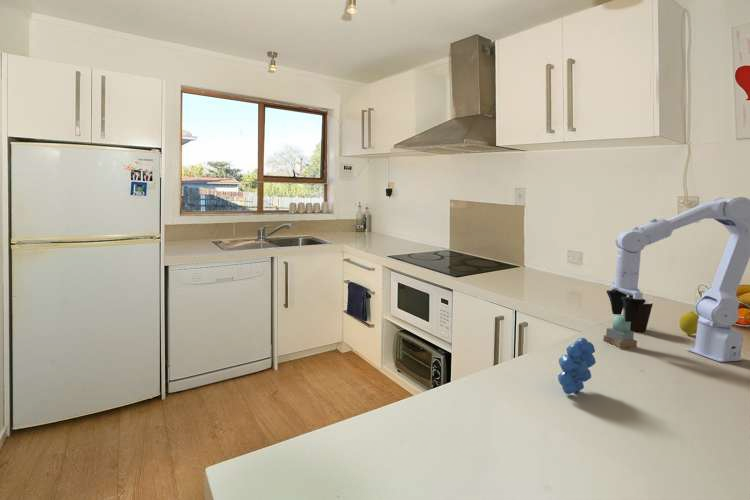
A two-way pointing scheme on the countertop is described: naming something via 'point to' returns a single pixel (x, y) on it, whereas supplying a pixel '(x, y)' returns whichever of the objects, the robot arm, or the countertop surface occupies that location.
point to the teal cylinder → (621, 324)
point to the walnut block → (620, 344)
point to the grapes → (576, 366)
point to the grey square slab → (619, 335)
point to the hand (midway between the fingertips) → (622, 317)
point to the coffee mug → (641, 317)
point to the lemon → (689, 323)
